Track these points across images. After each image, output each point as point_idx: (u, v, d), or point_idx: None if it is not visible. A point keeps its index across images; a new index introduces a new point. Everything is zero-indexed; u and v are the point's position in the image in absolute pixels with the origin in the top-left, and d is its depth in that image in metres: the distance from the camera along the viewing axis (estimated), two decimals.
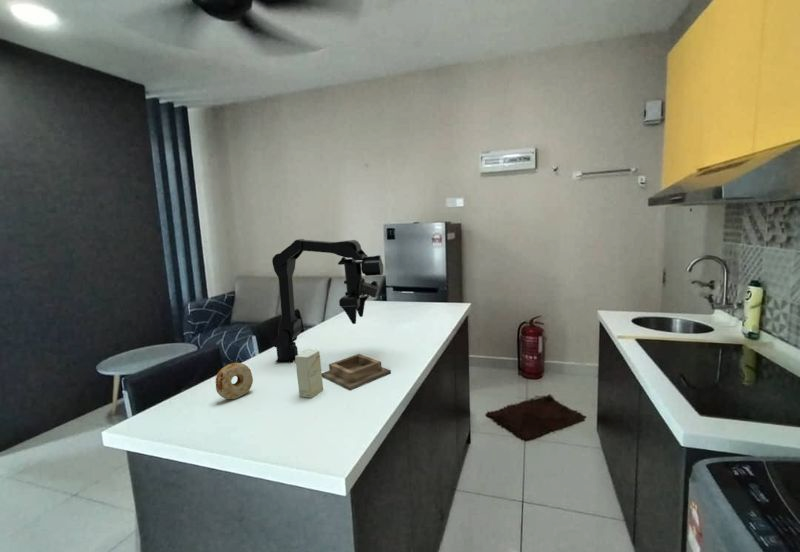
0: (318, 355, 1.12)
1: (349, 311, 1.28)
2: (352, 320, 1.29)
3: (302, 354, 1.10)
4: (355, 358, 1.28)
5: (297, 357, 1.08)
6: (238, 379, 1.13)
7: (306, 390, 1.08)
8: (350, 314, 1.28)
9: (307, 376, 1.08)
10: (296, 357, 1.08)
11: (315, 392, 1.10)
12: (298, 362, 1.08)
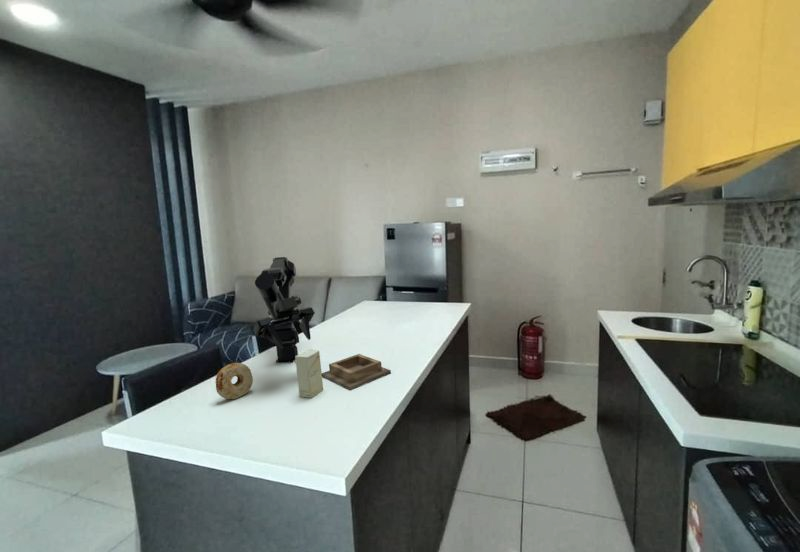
0: (318, 355, 1.12)
1: (271, 337, 1.15)
2: (278, 344, 1.13)
3: (302, 354, 1.10)
4: (355, 358, 1.28)
5: (297, 357, 1.08)
6: (238, 379, 1.13)
7: (306, 390, 1.08)
8: (273, 339, 1.14)
9: (307, 376, 1.08)
10: (296, 357, 1.08)
11: (315, 392, 1.10)
12: (298, 362, 1.08)
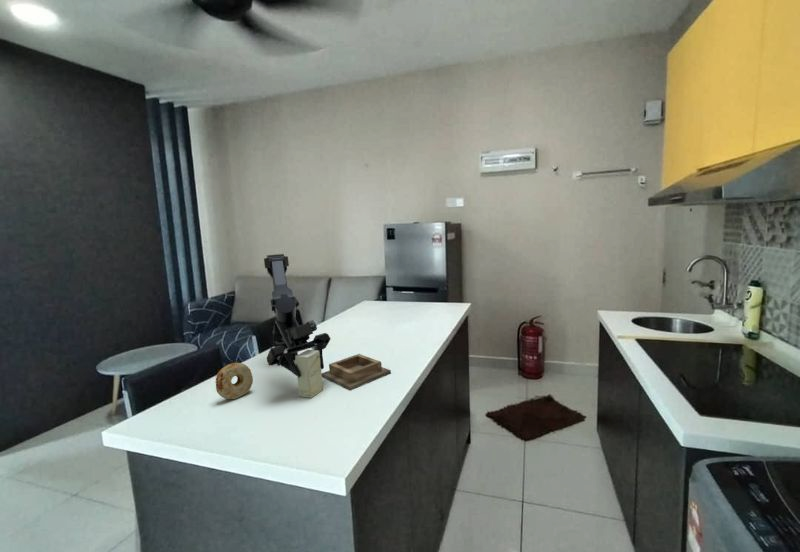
0: (318, 355, 1.12)
1: (288, 365, 1.09)
2: (295, 373, 1.08)
3: (302, 354, 1.10)
4: (355, 358, 1.28)
5: (297, 357, 1.08)
6: (238, 379, 1.13)
7: (306, 390, 1.08)
8: (290, 368, 1.09)
9: (307, 376, 1.08)
10: (296, 357, 1.08)
11: (315, 392, 1.10)
12: (298, 362, 1.08)
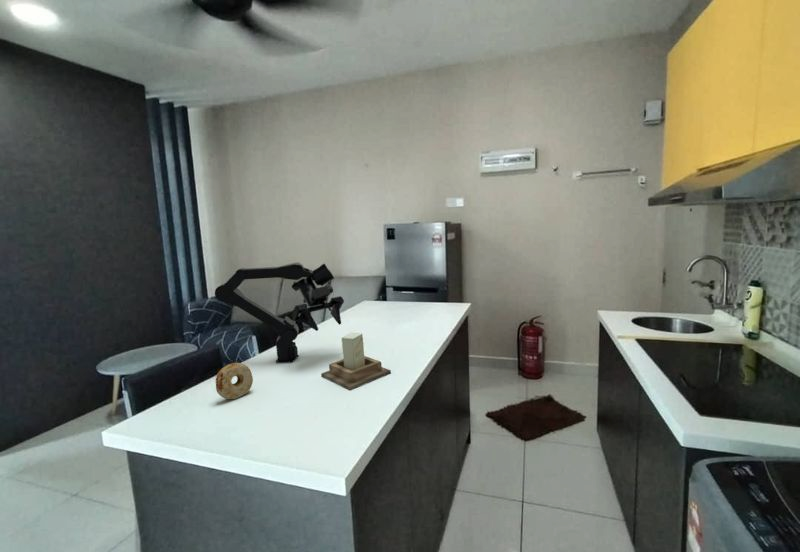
0: (362, 337, 1.23)
1: (307, 321, 1.30)
2: (314, 327, 1.29)
3: (347, 336, 1.21)
4: None
5: (343, 338, 1.19)
6: (238, 379, 1.13)
7: (351, 369, 1.20)
8: (309, 323, 1.30)
9: (352, 356, 1.19)
10: (342, 338, 1.19)
11: None
12: (344, 343, 1.19)
